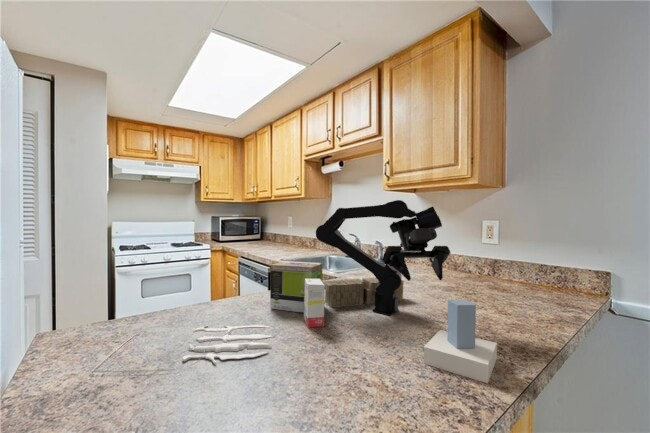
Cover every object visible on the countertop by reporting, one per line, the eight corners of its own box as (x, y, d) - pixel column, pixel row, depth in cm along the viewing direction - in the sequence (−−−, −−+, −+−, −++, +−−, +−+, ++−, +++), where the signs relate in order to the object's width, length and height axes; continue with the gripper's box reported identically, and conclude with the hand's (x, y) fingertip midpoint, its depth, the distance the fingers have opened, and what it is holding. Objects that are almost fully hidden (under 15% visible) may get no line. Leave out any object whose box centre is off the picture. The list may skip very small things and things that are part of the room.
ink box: (324, 327, 82) (325, 284, 82) (306, 328, 81) (307, 284, 81) (319, 316, 90) (320, 277, 90) (303, 317, 90) (304, 278, 90)
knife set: (273, 367, 60) (273, 362, 61) (82, 378, 56) (82, 371, 56) (275, 324, 86) (275, 320, 86) (145, 328, 81) (145, 324, 81)
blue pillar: (456, 348, 62) (457, 305, 62) (447, 340, 66) (447, 299, 66) (475, 348, 62) (475, 305, 62) (464, 340, 66) (465, 299, 66)
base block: (423, 365, 63) (423, 346, 63) (440, 346, 72) (440, 329, 72) (487, 386, 56) (488, 364, 56) (496, 361, 65) (497, 342, 65)
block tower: (391, 298, 116) (320, 301, 106) (392, 276, 116) (321, 278, 106) (403, 303, 108) (327, 308, 99) (404, 280, 109) (328, 283, 99)
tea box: (322, 305, 102) (323, 262, 101) (312, 315, 92) (312, 267, 92) (283, 300, 106) (283, 259, 106) (269, 309, 97) (269, 263, 97)
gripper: (387, 217, 85) (401, 262, 75) (447, 218, 88) (470, 261, 77) (377, 242, 93) (390, 286, 82) (433, 242, 96) (452, 284, 85)
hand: (425, 279), depth 82 cm, fingers open, 9 cm apart
